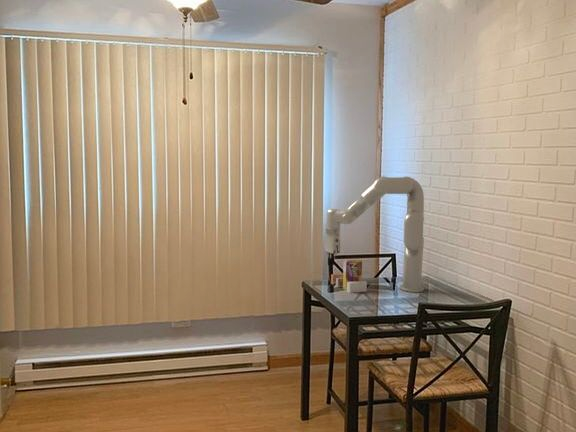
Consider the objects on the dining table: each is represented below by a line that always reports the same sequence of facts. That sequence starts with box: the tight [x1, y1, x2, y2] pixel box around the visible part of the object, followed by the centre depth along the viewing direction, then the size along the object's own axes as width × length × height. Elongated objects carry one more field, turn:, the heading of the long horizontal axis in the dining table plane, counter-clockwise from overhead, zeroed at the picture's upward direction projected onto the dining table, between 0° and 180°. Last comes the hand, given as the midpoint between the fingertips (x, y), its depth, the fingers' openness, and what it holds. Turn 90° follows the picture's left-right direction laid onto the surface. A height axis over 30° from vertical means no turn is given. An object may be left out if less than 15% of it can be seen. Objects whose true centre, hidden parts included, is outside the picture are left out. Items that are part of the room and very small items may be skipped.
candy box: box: [342, 259, 363, 291], centre depth 313 cm, size 9×4×15 cm, turn 106°
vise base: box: [346, 280, 368, 294], centre depth 317 cm, size 14×22×6 cm, turn 25°
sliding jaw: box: [330, 273, 343, 288], centre depth 322 cm, size 10×9×5 cm
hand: (330, 265), depth 332 cm, fingers closed
